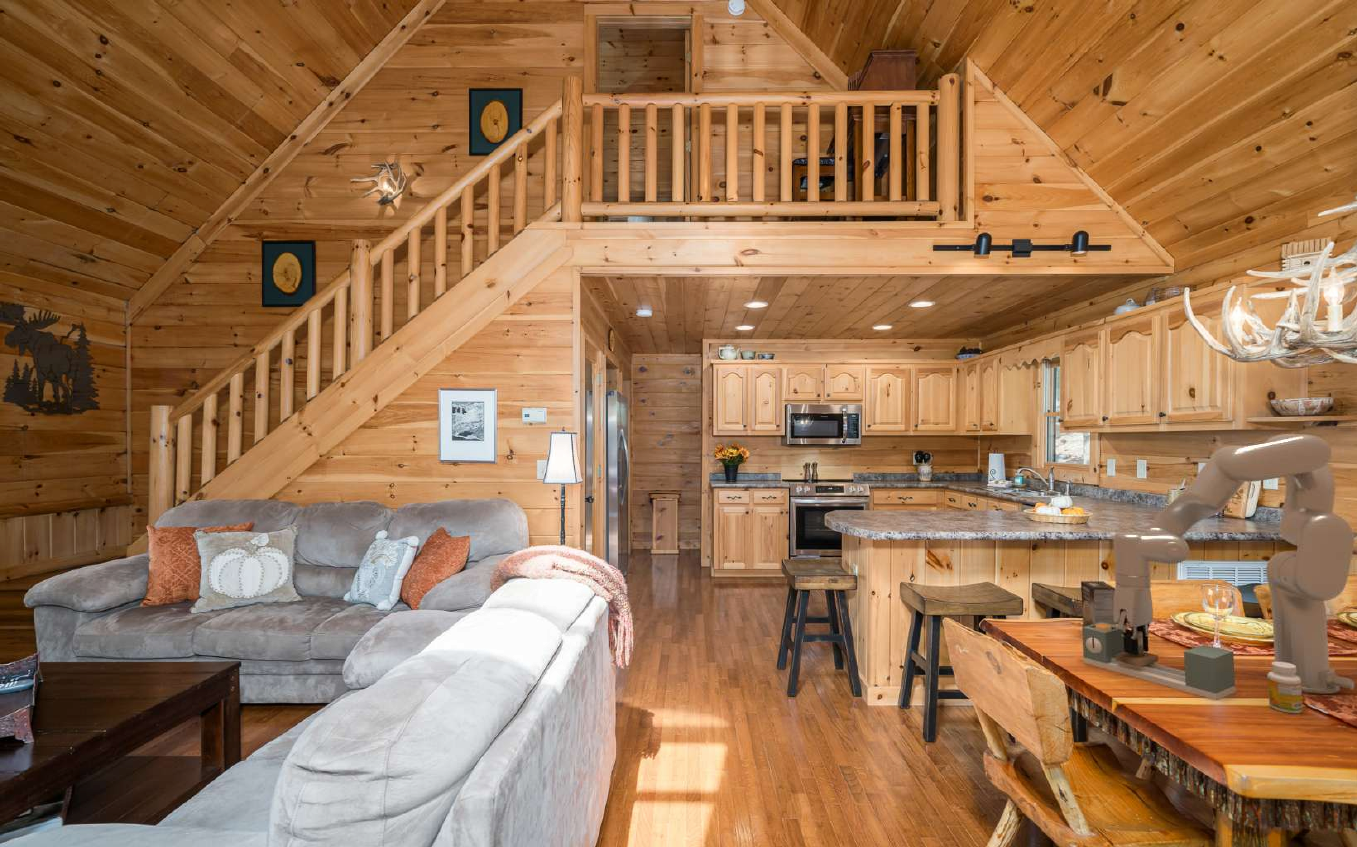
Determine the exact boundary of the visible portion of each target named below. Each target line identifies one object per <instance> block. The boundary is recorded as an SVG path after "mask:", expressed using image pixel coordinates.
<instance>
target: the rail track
mask: <svg viewBox="0 0 1357 847" xmlns="http://www.w3.org/2000/svg"><path fill="white" fill-rule="evenodd" d="M1083 664H1086V665H1090V666H1093V667H1097V668H1101V669H1104V670H1108V671H1111V672H1115V673H1119V674H1122V675H1125V676H1129V677H1132V678H1137V679H1140V680H1142V681H1147V682H1149V683H1150V682H1151V683H1154V684H1157V685H1159V686H1160V685H1161V686H1164V687H1166V688H1167V687H1168V688H1172V689H1175V690H1179V691H1182V692H1185V693H1189V694H1193V695H1196V696H1200V697H1203V698H1206V699H1210V700H1213V701H1217V700H1220V699H1223V698H1225V697H1227V696H1229V695H1231V694H1234V693H1236V685H1235V686H1233V687H1231V688H1228V689H1226V690H1223V691H1221V692H1219V693H1216V694H1215V693H1211V692H1208V691H1204V690H1200V689H1197V688H1193V687H1190V686H1186V682H1185V670H1181V669H1179V668H1174V667H1169V666H1166V665H1162V664H1160V663H1159V664H1157V663H1156V662H1155V663H1152V664H1149V665H1146V666H1143V667H1138V666H1134V665H1131V664H1127V663H1123V662H1119V661H1116V658H1111V662H1110V663H1107V664H1106V663H1102V662H1099V661H1095V660H1092V659H1088V658H1084V657H1083Z"/></svg>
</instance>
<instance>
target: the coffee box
mask: <svg viewBox="0 0 1357 847" xmlns="http://www.w3.org/2000/svg"><path fill="white" fill-rule="evenodd" d="M1080 586H1081V587H1080V588H1081V591H1080V592H1081V609H1082V627H1086V626H1089V625H1093V624H1097V623H1100V622H1103V623H1108V624H1112V625H1117V624H1115V622H1114V592H1115V587H1113V586H1112V585H1110V584H1108V583H1106V582H1105V581H1098V580H1097V581H1093V580H1092V581H1080Z"/></svg>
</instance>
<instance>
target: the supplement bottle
mask: <svg viewBox="0 0 1357 847" xmlns="http://www.w3.org/2000/svg"><path fill="white" fill-rule="evenodd" d="M1271 670H1272V672H1271V671H1269V672H1270V673H1269V672H1268V673H1269V674H1268V673H1267V674H1268V678H1267V682H1268V684H1267V685H1268V696H1269V697H1268V699H1269V706H1270V707H1271V708H1273V709H1274V710H1277V711H1279V712H1282V713H1289V714H1300V713H1303V710H1304V709H1303V691H1302V690H1301V679H1300V678H1299V677H1298V676H1297V675H1295V673H1296V666H1295V665H1293V664H1290V663H1285V662H1275V661H1272V662H1271Z"/></svg>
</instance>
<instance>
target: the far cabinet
mask: <svg viewBox="0 0 1357 847" xmlns="http://www.w3.org/2000/svg"><path fill="white" fill-rule="evenodd" d="M1097 624H1108V623H1103V622H1100V623H1097ZM1108 625H1111V630H1110V631H1105V630H1101V629H1096V627H1095V624H1093V625H1089V626H1086V627H1083V626H1082V627H1081V632H1082V634H1081V635H1082V651H1083V652H1082V653H1083V659H1084V658H1088V659H1092V660H1095V661H1099V662H1102V663H1106V664H1107V663H1110V662H1111V658H1115V655H1116V654H1119V653H1122V652H1124V640H1123V637H1122V633H1121V631H1120V630H1118V629H1117V626H1118V624H1116V625H1112V624H1108Z"/></svg>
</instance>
